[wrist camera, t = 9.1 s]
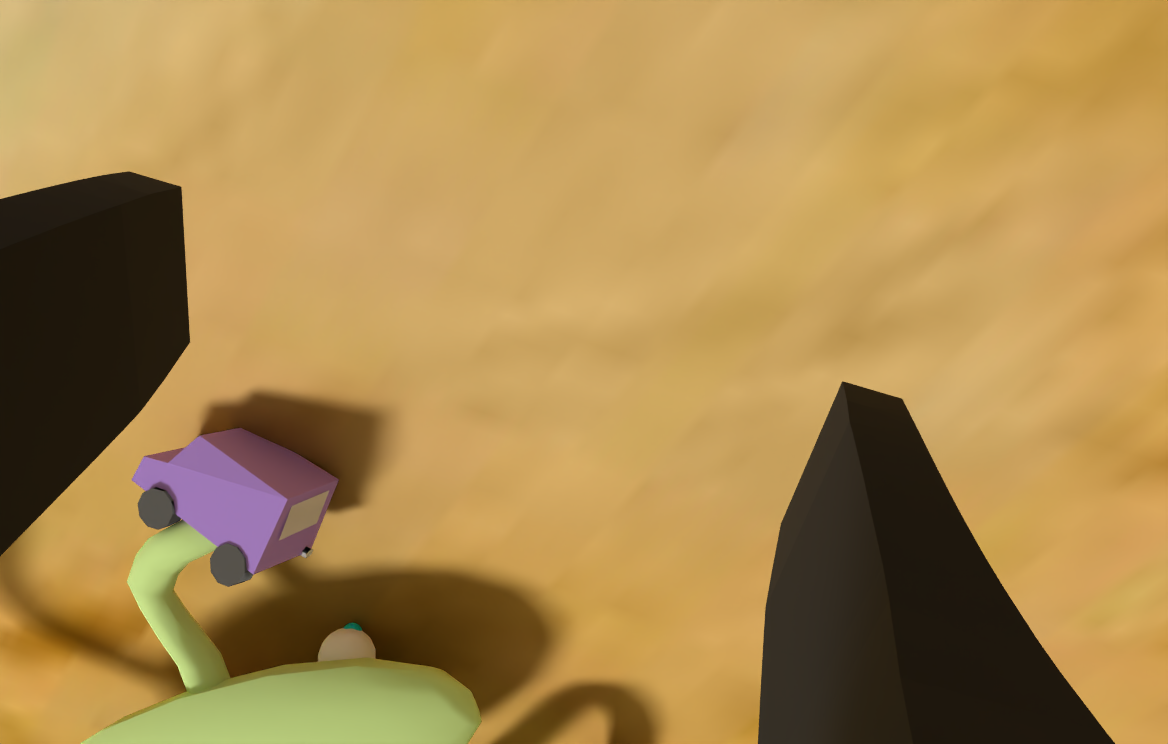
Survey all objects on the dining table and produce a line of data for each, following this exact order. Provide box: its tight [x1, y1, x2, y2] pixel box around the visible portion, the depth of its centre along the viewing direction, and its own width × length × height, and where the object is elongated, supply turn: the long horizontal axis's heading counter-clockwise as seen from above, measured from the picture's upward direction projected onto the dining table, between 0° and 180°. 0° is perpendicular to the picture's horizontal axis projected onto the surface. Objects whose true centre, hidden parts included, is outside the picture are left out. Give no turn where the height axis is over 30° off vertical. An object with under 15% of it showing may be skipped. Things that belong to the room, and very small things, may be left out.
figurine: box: [80, 428, 482, 744], centre depth 30 cm, size 18×27×6 cm
